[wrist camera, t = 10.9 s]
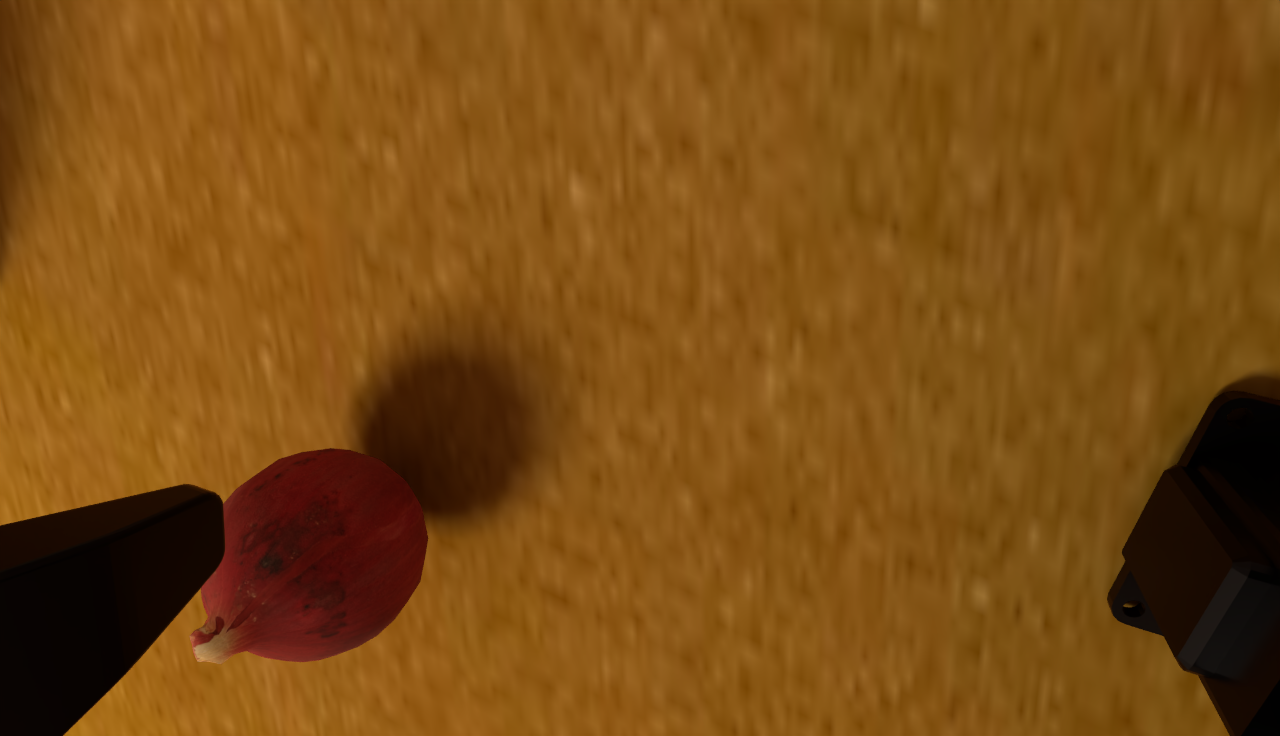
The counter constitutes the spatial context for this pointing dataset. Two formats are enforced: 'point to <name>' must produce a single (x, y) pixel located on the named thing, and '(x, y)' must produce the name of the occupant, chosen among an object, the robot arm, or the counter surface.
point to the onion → (312, 559)
